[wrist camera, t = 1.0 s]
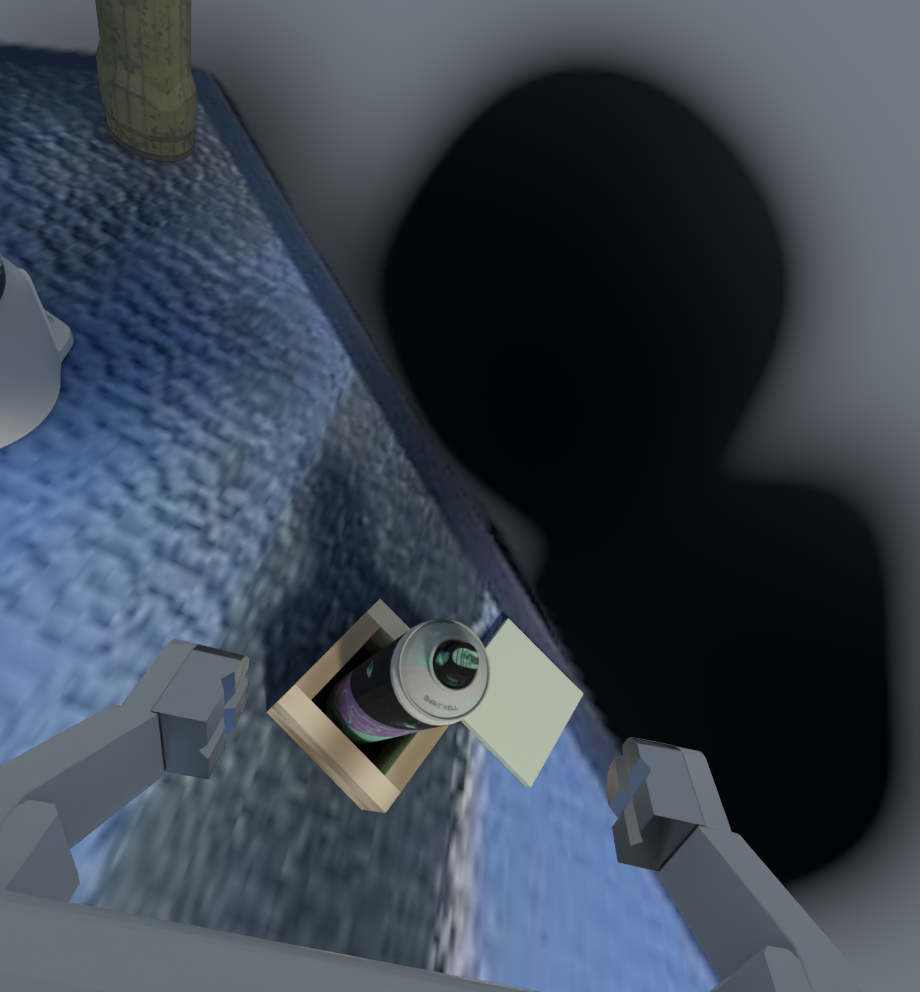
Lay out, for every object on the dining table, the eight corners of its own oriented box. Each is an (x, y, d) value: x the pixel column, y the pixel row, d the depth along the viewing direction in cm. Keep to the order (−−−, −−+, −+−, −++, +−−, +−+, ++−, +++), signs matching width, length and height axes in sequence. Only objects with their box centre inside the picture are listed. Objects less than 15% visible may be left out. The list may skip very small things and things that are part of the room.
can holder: (266, 712, 39) (277, 701, 35) (359, 618, 45) (380, 598, 41) (361, 809, 39) (385, 812, 34) (442, 702, 45) (472, 692, 40)
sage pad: (442, 702, 45) (446, 701, 44) (504, 620, 51) (508, 618, 50) (526, 787, 45) (530, 787, 44) (578, 694, 51) (583, 693, 50)
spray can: (316, 686, 42) (397, 623, 26) (380, 661, 44) (488, 591, 28) (338, 757, 40) (438, 738, 24) (402, 727, 43) (530, 692, 27)
